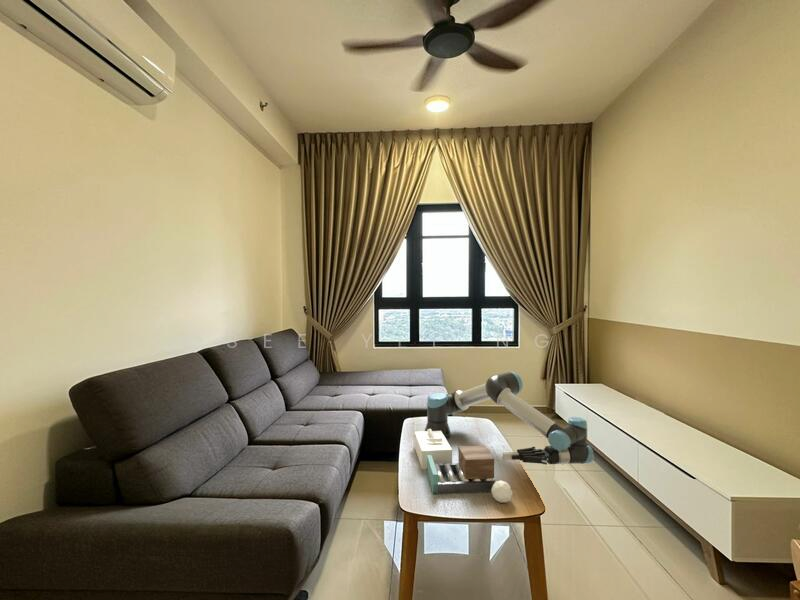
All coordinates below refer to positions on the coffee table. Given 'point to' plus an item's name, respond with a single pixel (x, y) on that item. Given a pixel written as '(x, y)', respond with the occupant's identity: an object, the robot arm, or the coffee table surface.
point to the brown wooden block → (476, 462)
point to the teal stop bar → (432, 473)
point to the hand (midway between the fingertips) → (503, 456)
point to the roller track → (462, 486)
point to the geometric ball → (501, 491)
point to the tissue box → (432, 447)
